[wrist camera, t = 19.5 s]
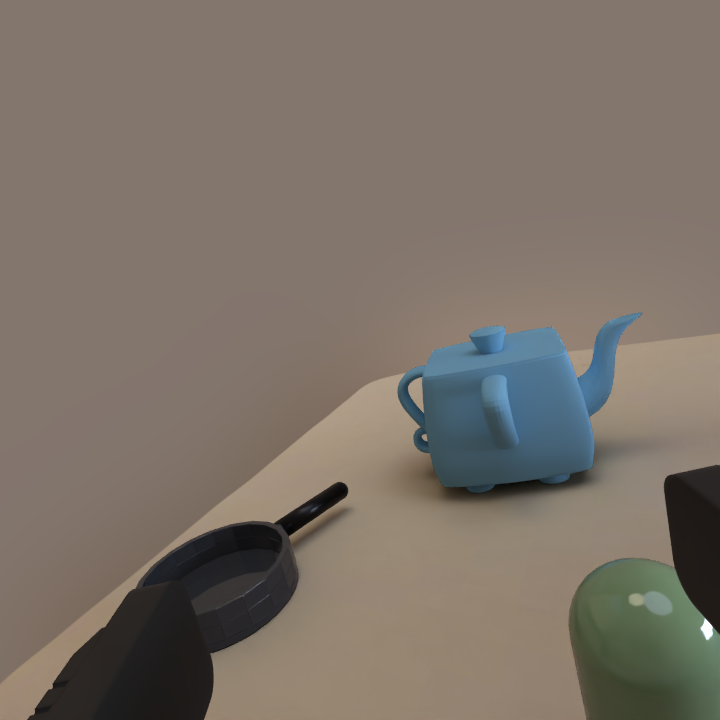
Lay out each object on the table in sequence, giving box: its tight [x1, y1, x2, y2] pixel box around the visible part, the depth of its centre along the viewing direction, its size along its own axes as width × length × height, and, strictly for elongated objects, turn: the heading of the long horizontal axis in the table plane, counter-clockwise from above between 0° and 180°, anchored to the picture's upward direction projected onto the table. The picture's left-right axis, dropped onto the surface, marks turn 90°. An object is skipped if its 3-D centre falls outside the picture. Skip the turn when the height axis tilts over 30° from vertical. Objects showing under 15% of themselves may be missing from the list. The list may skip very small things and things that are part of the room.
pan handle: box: [274, 482, 348, 536], centre depth 48 cm, size 9×2×2 cm, turn 134°
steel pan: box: [136, 521, 298, 653], centre depth 42 cm, size 12×12×3 cm
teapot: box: [398, 313, 642, 493], centre depth 50 cm, size 18×16×14 cm
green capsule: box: [569, 558, 720, 720], centre depth 18 cm, size 5×5×10 cm
